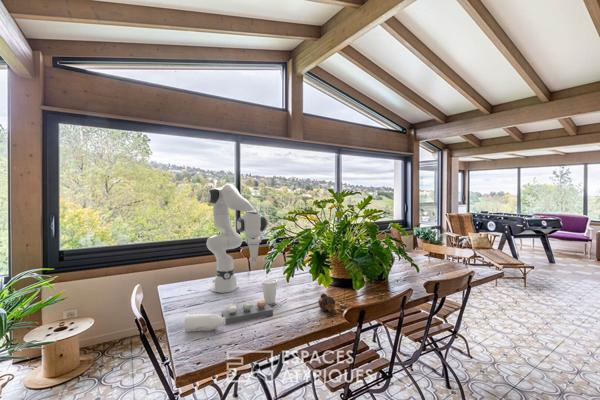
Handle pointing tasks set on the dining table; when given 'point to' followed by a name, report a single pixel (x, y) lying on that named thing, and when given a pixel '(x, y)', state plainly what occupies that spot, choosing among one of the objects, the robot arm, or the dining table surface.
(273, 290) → the foam cup
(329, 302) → the decorative turtle
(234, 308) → the white round dome
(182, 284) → the dining table surface
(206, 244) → the robot arm
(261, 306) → the orange rounded lump
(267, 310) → the console
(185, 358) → the dining table surface
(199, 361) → the dining table surface
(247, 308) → the sage button
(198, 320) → the white plastic bottle
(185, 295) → the dining table surface
